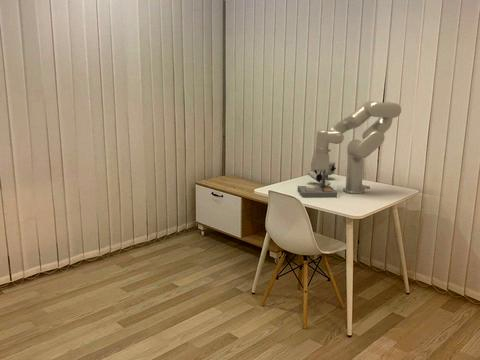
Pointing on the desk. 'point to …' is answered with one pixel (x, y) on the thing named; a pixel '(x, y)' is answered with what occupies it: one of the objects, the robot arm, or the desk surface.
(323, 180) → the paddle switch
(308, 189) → the grey button
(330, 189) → the copper button
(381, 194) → the desk surface
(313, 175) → the pale slanted lever
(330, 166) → the circuit breaker
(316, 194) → the dark grey tray
